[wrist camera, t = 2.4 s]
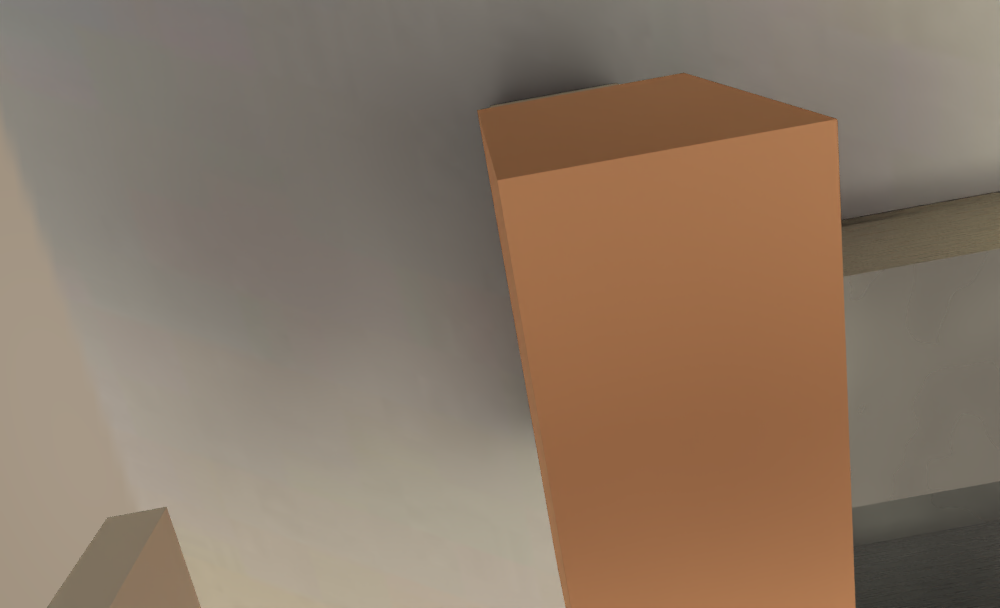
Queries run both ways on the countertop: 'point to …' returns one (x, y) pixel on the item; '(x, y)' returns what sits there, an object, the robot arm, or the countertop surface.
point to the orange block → (681, 340)
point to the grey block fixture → (924, 403)
